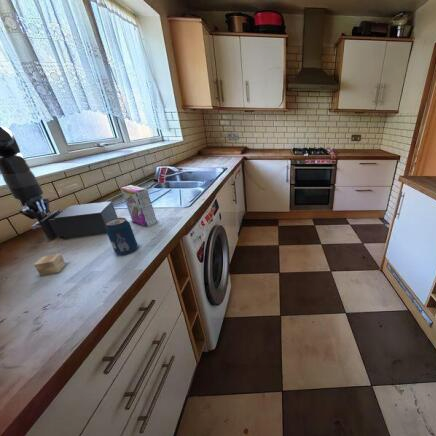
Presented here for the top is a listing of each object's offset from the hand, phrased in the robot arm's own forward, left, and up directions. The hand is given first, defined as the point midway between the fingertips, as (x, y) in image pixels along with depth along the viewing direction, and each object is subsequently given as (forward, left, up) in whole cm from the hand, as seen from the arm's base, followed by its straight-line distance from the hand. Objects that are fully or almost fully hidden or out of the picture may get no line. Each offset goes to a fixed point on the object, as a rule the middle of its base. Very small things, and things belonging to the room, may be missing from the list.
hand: (46, 225), depth 90 cm
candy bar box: (+33, 0, -5) cm, 34 cm away
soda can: (+32, -23, -5) cm, 40 cm away
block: (+13, -28, -4) cm, 31 cm away
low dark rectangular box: (+14, 0, -4) cm, 15 cm away
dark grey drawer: (+6, 0, -4) cm, 7 cm away
